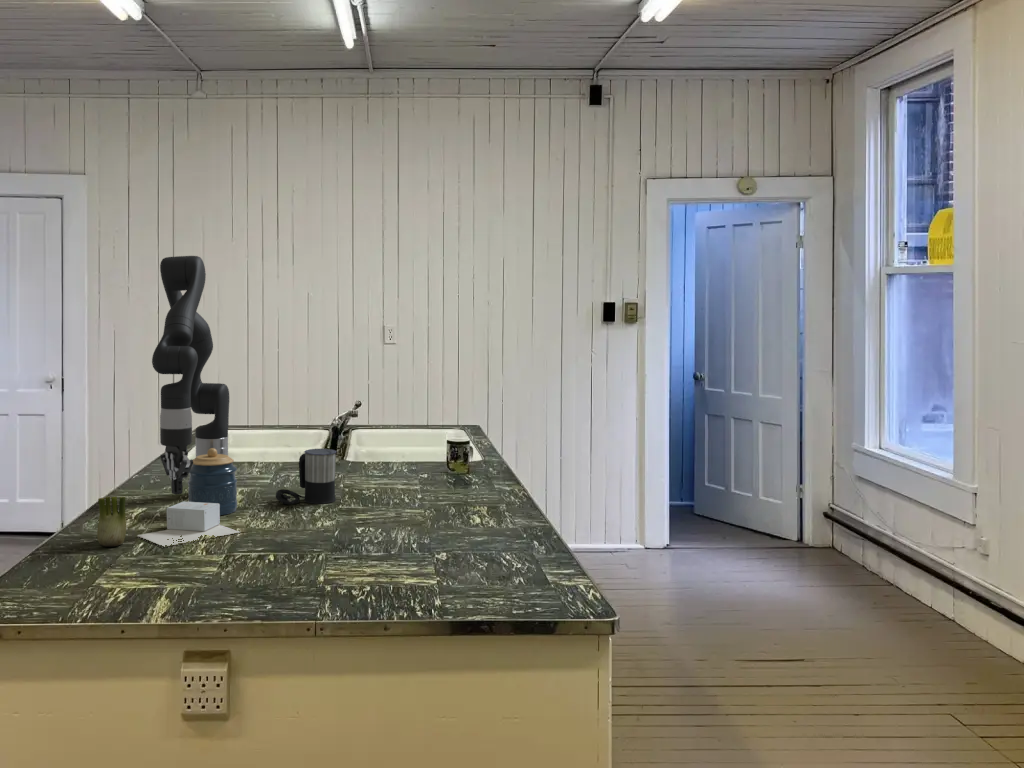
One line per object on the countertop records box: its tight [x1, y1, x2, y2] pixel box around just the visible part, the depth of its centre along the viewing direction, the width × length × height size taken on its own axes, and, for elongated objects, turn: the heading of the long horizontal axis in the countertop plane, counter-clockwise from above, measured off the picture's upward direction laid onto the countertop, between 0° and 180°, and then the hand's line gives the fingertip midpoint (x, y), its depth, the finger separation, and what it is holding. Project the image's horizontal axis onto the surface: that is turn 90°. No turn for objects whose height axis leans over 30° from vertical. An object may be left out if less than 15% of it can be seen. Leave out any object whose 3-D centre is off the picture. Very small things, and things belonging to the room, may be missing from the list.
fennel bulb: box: [96, 495, 127, 548], centre depth 218 cm, size 6×5×12 cm
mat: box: [136, 524, 241, 547], centre depth 230 cm, size 20×14×1 cm
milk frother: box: [275, 448, 337, 505], centre depth 268 cm, size 14×16×15 cm
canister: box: [187, 448, 238, 516], centre depth 254 cm, size 13×13×18 cm
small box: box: [166, 500, 221, 531], centre depth 236 cm, size 8×6×10 cm
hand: (177, 493), depth 233 cm, fingers closed
